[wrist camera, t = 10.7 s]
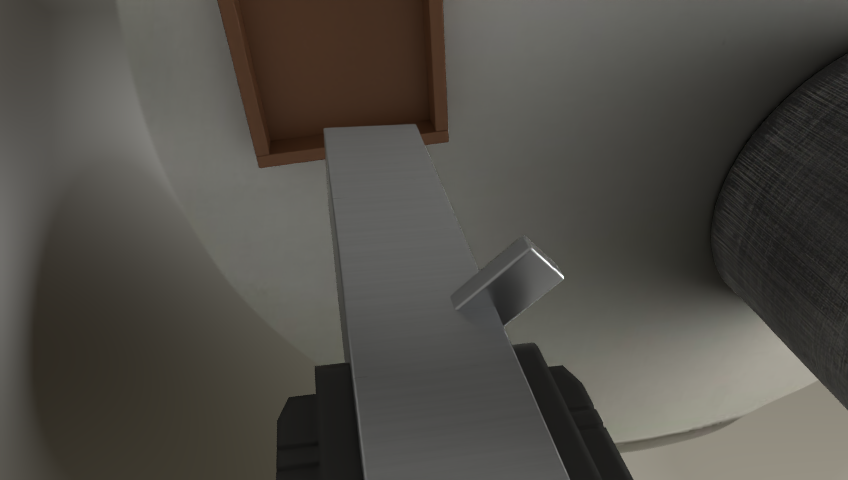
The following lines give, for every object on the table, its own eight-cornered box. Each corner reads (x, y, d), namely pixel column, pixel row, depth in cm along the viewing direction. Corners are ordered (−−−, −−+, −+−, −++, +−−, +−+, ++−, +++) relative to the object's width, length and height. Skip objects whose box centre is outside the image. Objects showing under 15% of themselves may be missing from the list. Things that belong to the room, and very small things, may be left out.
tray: (201, -96, 30) (194, -91, 28) (428, -116, 31) (438, -113, 29) (260, 150, 37) (259, 168, 35) (440, 126, 39) (449, 142, 37)
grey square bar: (291, 243, 21) (295, 768, 9) (274, 86, 18) (246, 584, 6) (449, 231, 22) (633, 692, 10) (459, 81, 19) (746, 499, 7)
